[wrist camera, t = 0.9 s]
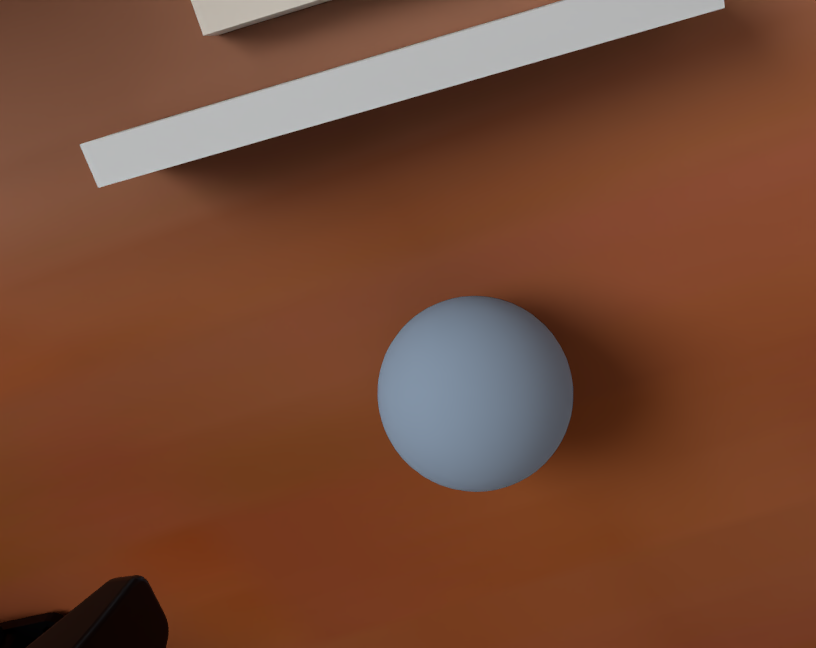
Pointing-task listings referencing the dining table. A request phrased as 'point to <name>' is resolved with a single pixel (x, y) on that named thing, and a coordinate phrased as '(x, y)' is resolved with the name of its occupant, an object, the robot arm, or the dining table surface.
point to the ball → (475, 393)
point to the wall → (379, 82)
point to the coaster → (242, 12)
